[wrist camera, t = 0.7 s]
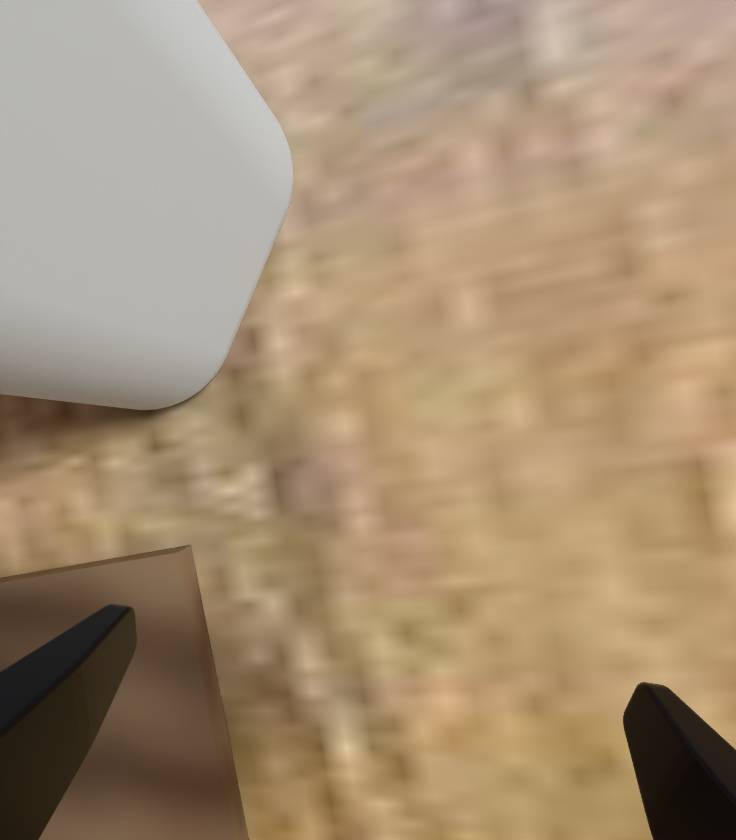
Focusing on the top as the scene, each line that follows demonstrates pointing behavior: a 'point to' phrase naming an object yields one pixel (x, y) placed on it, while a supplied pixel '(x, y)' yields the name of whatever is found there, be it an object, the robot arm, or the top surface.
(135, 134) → the plastic bottle
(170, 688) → the walnut board
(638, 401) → the top surface
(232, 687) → the top surface
